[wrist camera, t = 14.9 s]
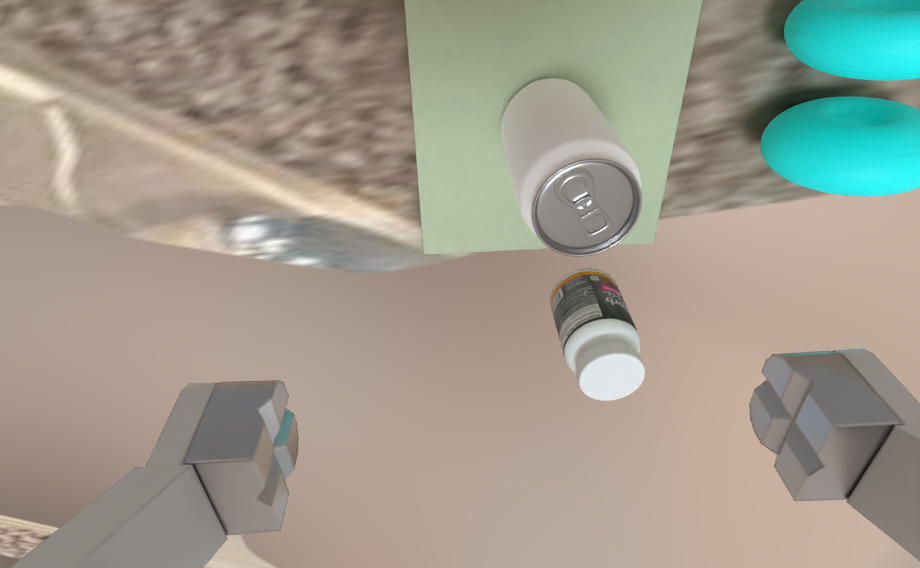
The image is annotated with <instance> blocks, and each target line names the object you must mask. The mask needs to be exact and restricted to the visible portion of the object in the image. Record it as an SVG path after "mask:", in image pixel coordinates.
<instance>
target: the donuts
mask: <svg viewBox="0 0 920 568" xmlns="http://www.w3.org/2000/svg"><path fill="white" fill-rule="evenodd" d="M784 38H785V42H786V45H787V47H788V48H789V50H790V52H791V53H792V54H793V55H794V56H795V57H796V58H797V59H798V60H800V61H801V62H803V63H804V64H806V65H808V66H810V67H812V68H814V69H817V70H819V71H822V72H825V73H829V74H833V75H837V76H842V77H848V78H855V79H865V80H908V79H917V78H920V0H803V1H801V2H800V3H799V4H798V5H797V6H796V7H795V8H794V9H793V10H792V11H791V13H790V14H789V16H788V18H787V20H786V23H785V27H784ZM761 152H762V155H763V157H764V160H765V161H766V163H767V164H768V165H769V166H770V167H771V168H772V169H773V170H774V171H775V172H776V173H777V174H779V175H780V176H782V177H783V178H785V179H787V180H789V181H791V182H793V183H796V184H798V185H801V186H803V187H807V188H810V189H813V190H817V191H821V192H826V193H832V194H838V195H847V196H883V195H892V194H898V193H903V192H907V191H910V190H913V189H916V188H918V187H920V110H919V109H916V108H914V107H911V106H909V105H906V104H902V103H899V102H895V101H890V100H885V99H878V98H870V97H855V96H843V97H829V98H821V99H816V100H811V101H807V102H804V103H801V104H798V105H795V106H793V107H791V108H789V109H787V110H785V111H783V112H782V113H780V114H779V115H777V116H776V117H775V118H774V119H773V120H772V121H771V122H770V123H769V124H768V126H767V127H766V128H765V130H764V133H763V135H762V138H761Z"/></svg>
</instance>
